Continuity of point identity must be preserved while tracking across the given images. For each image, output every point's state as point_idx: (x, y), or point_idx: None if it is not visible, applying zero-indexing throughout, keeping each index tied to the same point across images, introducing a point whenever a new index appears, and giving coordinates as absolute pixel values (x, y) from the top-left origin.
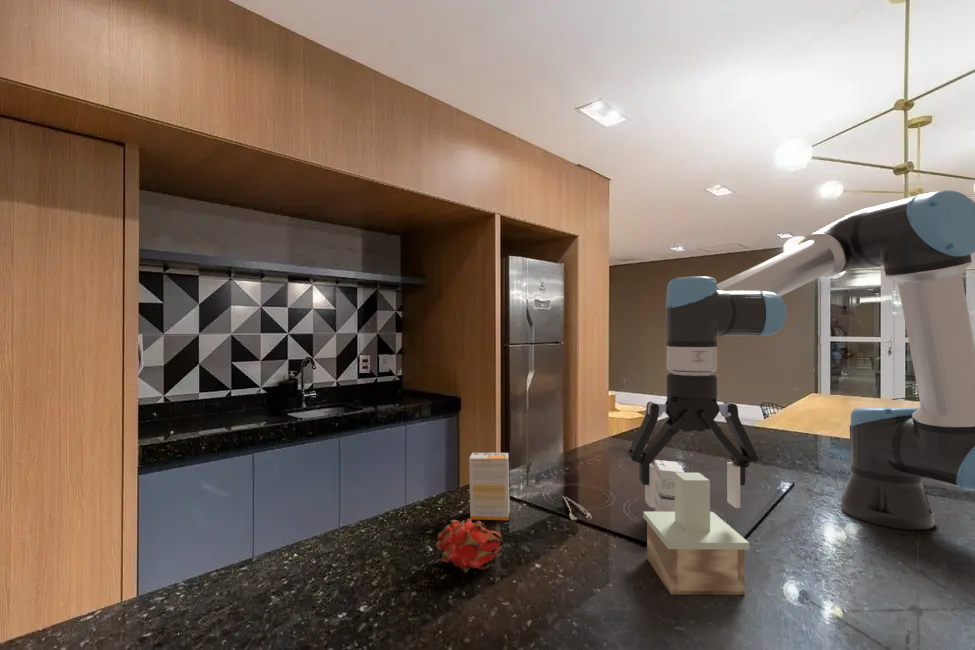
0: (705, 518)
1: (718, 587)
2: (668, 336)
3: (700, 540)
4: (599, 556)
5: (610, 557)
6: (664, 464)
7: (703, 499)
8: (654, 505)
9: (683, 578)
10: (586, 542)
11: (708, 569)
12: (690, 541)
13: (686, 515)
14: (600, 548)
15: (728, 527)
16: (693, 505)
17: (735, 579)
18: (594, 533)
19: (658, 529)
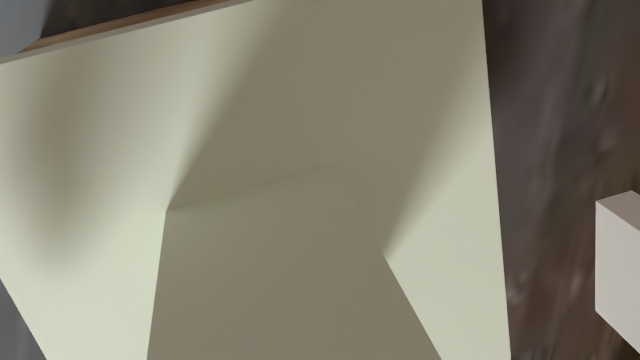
0: (195, 248)
1: (153, 13)
2: None
3: (251, 38)
4: (579, 194)
5: (541, 198)
6: None
7: (212, 342)
8: (611, 209)
9: None
10: None
11: None
12: (323, 3)
13: (344, 215)
14: (563, 255)
15: (37, 304)
16: (303, 276)
17: (64, 41)
18: (561, 355)
19: (488, 144)
